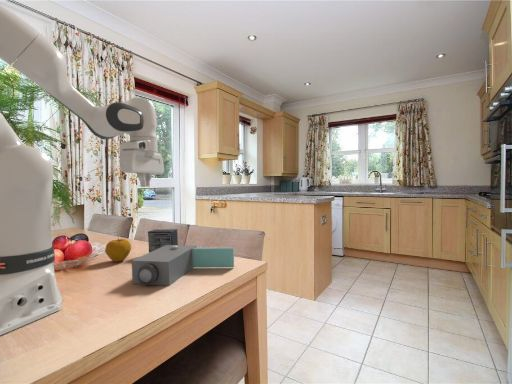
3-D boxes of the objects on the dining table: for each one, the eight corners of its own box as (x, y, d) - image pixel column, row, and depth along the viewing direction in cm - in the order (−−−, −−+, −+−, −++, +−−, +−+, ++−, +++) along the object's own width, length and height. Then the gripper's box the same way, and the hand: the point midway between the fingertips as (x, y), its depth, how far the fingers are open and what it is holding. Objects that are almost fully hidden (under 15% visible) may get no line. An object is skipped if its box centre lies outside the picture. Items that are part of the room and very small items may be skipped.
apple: (114, 266, 98) (112, 241, 98) (100, 262, 103) (99, 239, 102) (136, 259, 106) (135, 237, 105) (122, 257, 110) (122, 235, 110)
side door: (234, 265, 93) (233, 247, 93) (233, 267, 92) (233, 248, 91) (193, 266, 94) (193, 247, 94) (192, 267, 93) (191, 248, 92)
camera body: (165, 289, 75) (164, 261, 75) (127, 287, 77) (125, 260, 77) (197, 264, 97) (196, 243, 97) (166, 263, 99) (166, 242, 99)
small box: (179, 252, 115) (178, 228, 115) (172, 256, 109) (172, 231, 109) (155, 252, 116) (154, 228, 116) (148, 256, 110) (147, 231, 110)
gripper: (152, 151, 104) (153, 186, 104) (115, 143, 84) (117, 187, 84) (167, 150, 102) (168, 186, 103) (133, 142, 82) (135, 187, 83)
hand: (145, 186), depth 93 cm, fingers closed
